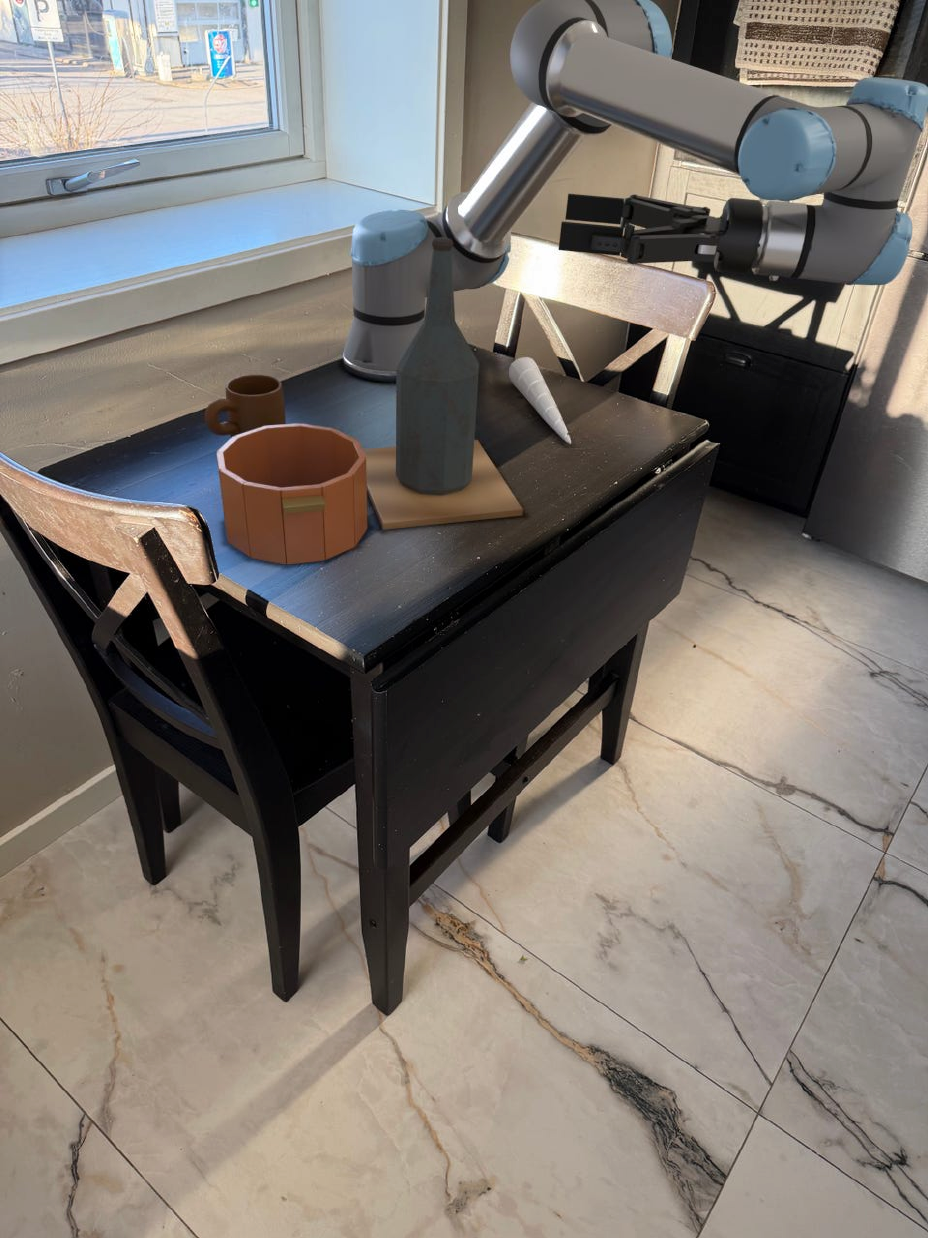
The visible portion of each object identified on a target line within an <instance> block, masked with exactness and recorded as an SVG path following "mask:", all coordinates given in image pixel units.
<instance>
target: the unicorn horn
mask: <svg viewBox="0 0 928 1238" xmlns="http://www.w3.org/2000/svg"><path fill="white" fill-rule="evenodd" d="M508 377H509V380H510V382H511V383H512V384H513V386H515V388H516V389H517V391H519V392H520V393H521V394H522V396H523V397H524V398H525V399H526V400H527V401H528V403H529V404H530V406H532V407H533V408H534V410H535V411H536V412H537V413H538V414H539V415H540V417H541V418H542V419H543V420H544V421H545V422H546V423H547V425H549V427H550V428H551V429H552V430H553V431H554V432H555V433H556V434H557V435H558V436H559V437H560V438H561V439H562V440H563V441H565V442H566V443H568V444H569V445H571V444H572V440H571V436H570V434H569V431H568V428H567V426H566V424H565V421H564V419H563V417H562V414H561V412H560V410H559V408H558V406H557V404H556V402H555V399H554V398H553V396H552V394H551V391H550V389H549V387H548V385H547V383H546V381H545V379H544V377H543V374H542V373H541V370H540V368H539V367H538V364H537V363H536V362H535V360H534V359H533V358H532V357H528V356H523V357H519V358H516V359H515V360H514V361H513V362H511V364H510V365H509V367H508Z"/></svg>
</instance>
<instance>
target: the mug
mask: <svg viewBox="0 0 928 1238" xmlns="http://www.w3.org/2000/svg"><path fill="white" fill-rule="evenodd" d="M285 407H286V406H285V394H284V389H283V383H282V382H281V380H280V379H278V378H276V377H274V376H270V375H266V374H244V375H240V376H236V377H234V378H232V379H230V380H228V382H227V383H226V385H225V398H224V397H223V398H222V397H219V398H216V399H214V400H212V401H211V402H210V403H209V404H208V405H207V407H206V409H205V413H204V421H205V424H206V427H207V429H208V430H209V431H210V432H211V433H212V434H214V435H216V436H220V437H223V436H229V438H230V439H231V438H232V437H234V436H236V435H239V434H242V433H245V432H248V431H251V430H254V429H257V428H260V427H263V426H268V425H282V424H287V419H286V418H287V417H286V408H285ZM221 411H224V412H226V413H227V421H223V422H220V420H219V418H218V415H219V413H220V412H221Z"/></svg>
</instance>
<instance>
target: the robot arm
mask: <svg viewBox="0 0 928 1238" xmlns="http://www.w3.org/2000/svg"><path fill="white" fill-rule="evenodd" d="M672 40H673V39H672V33H671V29H670V26H669V23H668V19H667V18H666V16H665V14H664V12H663V10H662V9H661V8H660V7H659V6H658V5H657V4H656V3H655V2H654V1H652V0H540V1H538V2H537V3H536V4H534V5H532V6H531V7H530V8H529V9H528V10H527V11H526V12H525V14H524V15H523V16H522V17H521V18H520V21H518V24H517V26H516V28H515V30H514V32H513V36H512V39H511V43H510V51H509V59H510V60H509V62H510V69H511V73H512V77H513V80H514V83H515V84H516V86H517V88H518V89H519V91H520V93H521V94H522V95H523V96H524V97H525V98H527V99H528V100H529V101H530V102H531V103H530V104H529V106H527V108H526V110H525V111H524V112H523V114H522V116H521V117H520V118H519V119H518V121H517V123H516V124H515V126H514V127H513V128H512V129H511V131H510V132H509V133H508V135H507V137H506V138H505V140H504V141H503V142H502V143H501V145H500V146H499V148H498V150H497V151H496V152H495V153H494V155H493V157H492V158H491V159H490V160H489V162H488V163H487V164H486V166H485V168H484V169H483V170H482V172H481V173H480V175H479V176H478V178H476V180H475V182H474V183H473V185H472V186H471V187H470V189H469V190H468V191H463V192H459V193H457V194H455V195H453V196H452V197H451V198H450V200H449V201H448V203H447V204H446V205H445V207H444V208H443V210H442V212H441V213H440V214H439V215H438V216H437V215H436V217H430V218H426V217H425V216H424V215H423V214H422V213H421V212H417V211H414V210H409V209H397V210H384V211H378V212H374V213H371V214H369V215H366V216H364V217H363V218H361V219H360V220H358V221H357V222H356V224H355V225H354V227H353V228H352V234H351V248H350V258H351V276H352V280H351V281H352V322H351V325H350V329H349V332H348V335H347V338H346V341H345V345H344V349H343V352H342V358H343V359H342V361H343V363H342V364H343V367H344V369H345V370H346V371H347V372H349V373H350V374H352V375H353V376H356V377H358V378H361V379H365V380H370V381H375V382H376V381H377V382H387V383H391V382H392V383H395V382H396V368H397V365H398V362H399V359H400V357H401V355H402V354H403V352H404V351H405V349H406V347H407V346H408V344H409V343H410V341H411V340H412V338H413V337H414V335H415V334H416V332H417V331H418V329H419V327H420V326H421V324H422V323H423V321H424V319H425V311H426V299H427V295H428V287H429V279H430V271H431V263H432V254H433V247H432V241H433V239H434V238H438V237H444V238H449V239H451V240H452V241H453V245H452V248H451V254H452V272H453V291H454V292H460V291H466V290H476V289H477V290H478V289H480V288H483V287H485V286H487V285H491V284H493V283H494V282H496V281H497V280H499V279H500V278H501V277H502V275H503V274H504V273H505V271H506V269H507V267H508V265H509V262H510V257H509V253H511V252H512V241H511V240H512V232H511V230H512V229H513V228H514V227H515V226H516V224H517V223H518V222H519V220H520V219H521V218H522V217H523V215H524V214H525V213H526V212H527V210H529V208H530V207H531V206H532V204H533V203H534V202H535V201H536V199H537V198H539V196H540V195H541V193H542V192H543V191H544V190H545V188H546V187H547V186H548V185H549V183H551V181H552V180H553V179H554V177H556V175H557V174H558V173H559V171H560V170H561V169H562V168H563V167H564V166H565V164H566V163H567V162H568V160H569V159H570V158H571V157H572V155H573V154H574V153H575V152H576V150H577V149H578V148H579V147H580V146H581V144H582V143H583V142H584V141H585V140H586V138H587V137H588V136H600V135H602V134H603V133H606V132H607V131H608V130H609V128H610V127H611V126H615V127H617V128H619V129H622V130H625V131H627V132H630V133H631V134H632V133H633V134H635V135H637V136H640V137H642V138H645V139H647V140H650V141H652V142H655V143H656V144H660V145H662V146H665V147H668V148H670V149H672V150H674V151H677V152H679V153H682V154H684V155H687V156H690V157H692V158H694V159H697V160H699V161H702V162H704V163H707V164H709V165H711V166H714V167H716V168H719V169H721V170H724V171H726V172H729V173H732V174H734V175H736V176H739V177H740V178H741V179H740V180H741V181H742V182H743V184H744V185H745V187H746V189H748V191H749V192H750V194H752V195H753V196H755V197H756V198H759V199H761V200H764V201H767V202H766V203H765V204H764V205H763V203H762V202H761V201H760V200H759V199H751V198H738V197H731V198H729V199H727V200H726V201H725V203H724V206H723V208H722V213H721V215H720V216H719V217H716V216H712V215H710V214H711V208H709V207H708V206H703V207H702V206H695V205H687V204H682V203H677V202H673V201H667V200H662V199H657V198H652V197H647V196H642V195H638V194H631V195H629V197H625V198H622V197H614V196H613V197H612V196H600V195H589V194H579V193H568V194H567V200H566V209H565V210H566V211H565V218H564V220H565V221H561V223H560V232H559V241H558V251H564V252H575V253H585V254H594V255H596V254H597V255H604V256H605V255H606V256H616V257H618V256H619V257H621V258H623V259H626V262H627V263H628V264H630V265H635V264H637V265H638V264H654V263H657V264H660V263H680V262H681V263H682V262H700V263H701V262H702V263H708V264H710V263H713V265H714V266H713V267H714V270H715V271H717V272H719V273H729V274H741V275H745V274H746V273H748V272H750V270H751V271H752V273H753V275H756V276H767V277H769V278H768V279H769V281H770V282H777V281H778V279H779V277H782V278H789V279H801V280H810V281H816V282H817V281H818V282H826V283H834V284H835V283H836V284H844V285H846V286H853V285H855V286H885V285H888V284H889V283H891V282H893V281H894V280H895V279H896V278H897V277H898V275H899V274H900V273H901V271H902V269H903V267H904V265H905V263H906V260H907V258H908V256H909V252H910V243H911V240H912V237H913V222H912V218H911V217H910V215H909V214H907V213H905V212H900V211H899V210H898V208H899V201H900V198H901V195H902V192H903V189H904V186H905V183H906V180H907V177H908V174H909V171H910V168H911V165H912V163H913V162H912V161H913V159H914V155H915V153H916V149H917V147H918V143H919V141H920V137H921V136H922V135H921V134H922V133H923V132H924V130H925V129H924V128H925V126H924V123H925V121H926V115H927V112H928V86H927V85H926V84H925V83H922V82H917V81H915V80H914V81H913V80H906V79H899V78H890V77H862V78H861V79H859V80H858V81H857V82H856V83H855V84H854V86H853V87H852V90H851V92H850V94H849V95H850V96H849V98H848V100H847V101H846V104H843V105H835V106H821V107H820V106H813V105H809V104H806V103H803V102H800V101H797V100H794V99H791V98H788V97H784V96H781V95H780V94H778V93H777V94H776V93H775V92H770V91H767V90H765V89H761V88H758V87H757V86H752V85H750V84H747V83H744V82H741V81H738V80H735V79H732V78H729V77H726V76H723V75H720V74H717V73H714V72H711V71H709V70H706V69H702V68H699V67H696V66H693V65H690V64H687V63H684V62H682V61H679V60H675V59H673V58H672V57H671V56H672V55H671V53H672V49H673V41H672ZM822 194H823V199H822V203H821V204H808V203H807V204H806V203H803V202H802V203H801V202H792V201H796V200H801V199H803V198H806V197H811V196H816V195H822ZM567 220H568V221H567ZM571 221H572V222H571ZM573 221H577V222H573ZM583 222H585V223H583ZM586 222H587V223H586ZM595 223H598V224H595ZM615 225H616V226H615ZM617 225H619V226H617ZM636 227H640V228H639V229H635V228H636Z"/></svg>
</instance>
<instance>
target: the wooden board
mask: <svg viewBox="0 0 928 1238" xmlns="http://www.w3.org/2000/svg"><path fill="white" fill-rule="evenodd" d="M362 449H363V451H364V453H365V456H366V472H367V496H368V497H369V499H370V502H371V505H372V507H373V509H374V512H375V514H376V517H377V520H378V522H379V524H380V527H381V530H382V531H386V530H395V529H397V530H398V529H407V528H415V527H416V528H417V527H426V526H433V525H434V526H435V525H444V524H454V523H464V522H474V521H475V522H476V521H484V520H493V519H502V518H512V517H521V516H523V513H524V508H523V507H522V505H521V504H520V502H519V501H518V499H517V498H516V496H515V495H514V494H513V492H512V490H511V488H510V487H509V485H508V484H507V482H506V481H505V480H504V478H503V476H502V475H501V473H500V472H499V470H498V469H497V467H496V466H495V464H494V463H493V461H492V460H491V458H490V457H489V455H488V454H487V452H486V451H485V449H484V447H483V446H482V444H481V443H480V441H479V440H478V439H474V454H473V470H472V478H471V482H470V483H469V484H468V486H467V487H465V488H464V489H463V490H461V491H457V492H453V493H449V494H446V495H431V494H420V493H418V492H415V491H413V490H411V489H409V488H407V487H405V486H403V485H402V483H401V482H400V481H399V479H398V478H397V476H396V446H386V447H374V448H373V447H372V448H362Z"/></svg>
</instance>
